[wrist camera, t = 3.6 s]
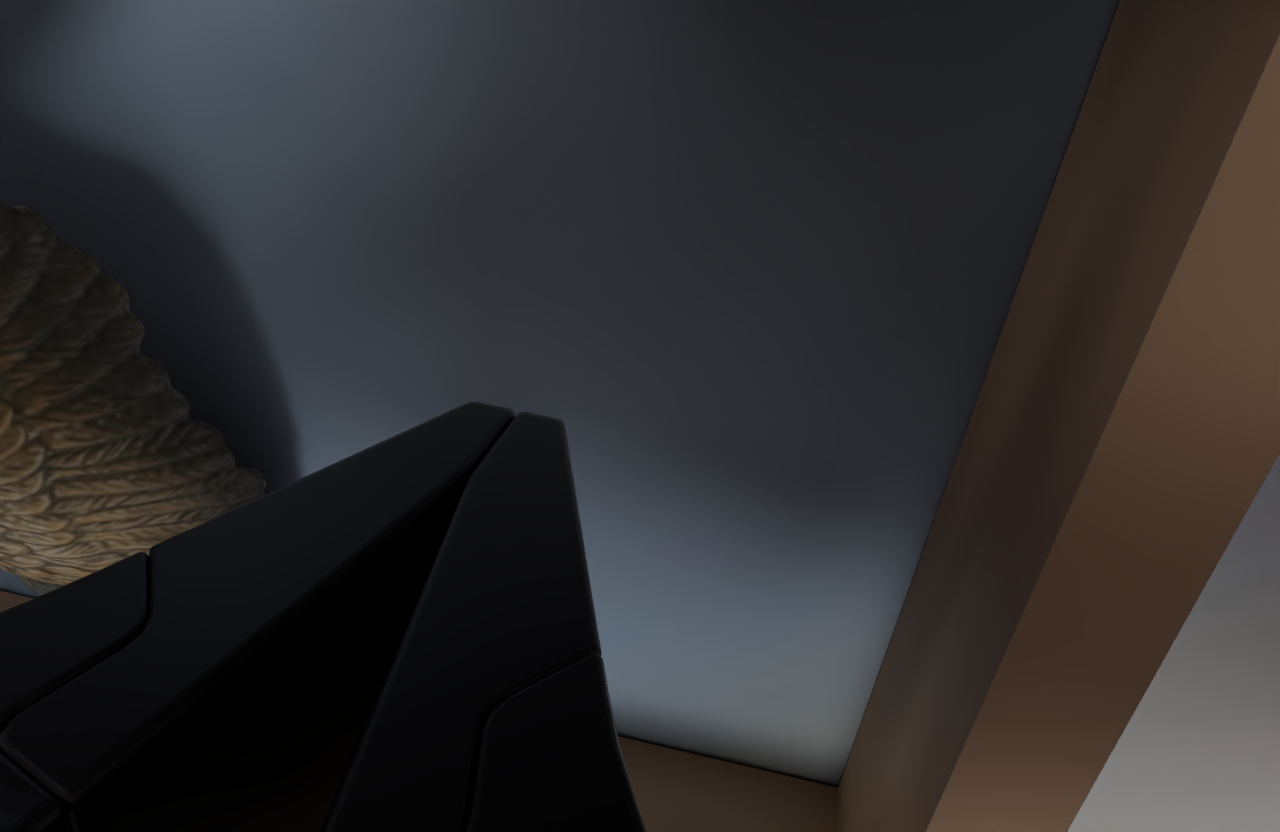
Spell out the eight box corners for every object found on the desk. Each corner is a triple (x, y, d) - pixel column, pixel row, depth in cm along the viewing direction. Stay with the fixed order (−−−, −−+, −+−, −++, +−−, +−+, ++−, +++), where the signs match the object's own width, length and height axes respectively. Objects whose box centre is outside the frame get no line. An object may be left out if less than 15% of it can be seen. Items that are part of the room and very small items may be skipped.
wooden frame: (897, 857, 13) (909, 1113, 10) (-361, 554, 14) (-620, 712, 12) (1382, -273, 7) (1722, -334, 4) (-946, -595, 8) (-1770, -785, 6)
